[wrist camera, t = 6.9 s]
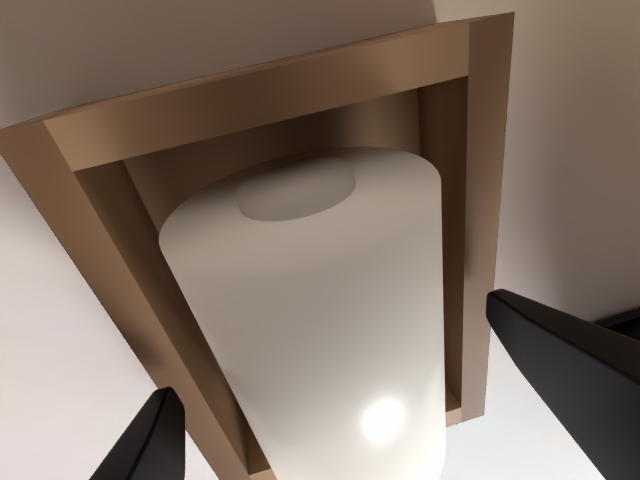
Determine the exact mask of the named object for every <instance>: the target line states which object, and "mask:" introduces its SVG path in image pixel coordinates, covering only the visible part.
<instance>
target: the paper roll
mask: <svg viewBox="0 0 640 480" xmlns="http://www.w3.org/2000/svg"><path fill="white" fill-rule="evenodd" d="M159 245H160V249H161V251H162V253H163V255H164V257H165V259H166V261H167V263H168V265H169V267H170V269H171V271H172V273H173V275H174V277H175V279H176V281H177V283H178V285H179V287H180V289H181V291H182V293H183V295H184V297H185V299H186V301H187V303H188V305H189V307H190V309H191V311H192V313H193V315H194V317H195V318H196V320H197V322H198V324H199V326H200V328H201V330H202V332H203V334H204V336H205V338H206V340H207V342H208V344H209V346H210V348H211V350H212V352H213V354H214V356H215V358H216V360H217V362H218V364H219V366H220V368H221V370H222V372H223V374H224V376H225V378H226V380H227V382H228V384H229V386H230V388H231V390H232V391H233V393H234V395H235V397H236V399H237V401H238V403H239V405H240V407H241V409H242V411H243V413H244V415H245V417H246V419H247V421H248V423H249V425H250V427H251V429H252V431H253V433H254V435H255V437H256V439H257V441H258V443H259V445H260V447H261V449H262V451H263V453H264V455H265V457H266V459H267V461H268V463H269V464H270V466H271V468H272V470H273V472H274V474H275V476H276V478H277V480H438V479H439V477H440V475H441V472H442V468H443V464H444V460H445V452H446V421H445V367H444V314H443V260H442V206H441V177H440V175H439V172H438V170H437V169H436V168H435V167H434V166H433V164H431V163H430V162H429V161H427V160H426V159H424V158H422V157H420V156H418V155H415V154H412V153H409V152H406V151H402V150H397V149H391V148H383V147H340V148H330V149H322V150H315V151H309V152H304V153H298V154H294V155H289V156H285V157H282V158H278V159H274V160H270V161H267V162H264V163H261V164H257V165H255V166H252V167H249V168H246V169H244V170H241V171H238V172H236V173H234V174H231V175H229V176H227V177H225V178H222V179H220V180H218V181H216V182H214V183H212V184H211V185H209V186H207V187H205V188H204V189H202V190H200V191H199V192H197V193H196V194H194V195H193V196H191V197H190V198H188V199H187V200H186V201H184V202H183V203H182V204H181V205H180V206H179V207H177V208H176V209H175V210H174V211H173V212H172V213H171V215H170V216H169V217H168V218H167V220H166V221H165V223H164V224H163V226H162V228H161V231H160V234H159Z"/></svg>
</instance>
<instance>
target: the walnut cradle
mask: <svg viewBox="0 0 640 480" xmlns="http://www.w3.org/2000/svg"><path fill="white" fill-rule="evenodd" d="M514 13H515V12H510V13H503V14H497V15H490V16H483V17H476V18H470V19H463V20H456V21H450V22H443V23H437V24H433V25H428V26H424V27H420V28H415V29H411V30H406V31H402V32H398V33H393V34H389V35H385V36H380V37H376V38H372V39H367V40H363V41H358V42H354V43H350V44H345V45H341V46H337V47H332V48H328V49H324V50H319V51H315V52H311V53H306V54H302V55H297V56H293V57H289V58H284V59H280V60H276V61H271V62H267V63H263V64H258V65H254V66H249V67H245V68H241V69H236V70H232V71H228V72H223V73H219V74H215V75H210V76H206V77H202V78H197V79H193V80H188V81H184V82H180V83H175V84H171V85H167V86H162V87H158V88H154V89H149V90H145V91H140V92H136V93H132V94H127V95H123V96H119V97H114V98H110V99H106V100H101V101H97V102H93V103H88V104H84V105H79V106H75V107H71V108H66V109H63V110H59V111H56V112H53V113H50V114H47V115H44V116H41V117H38V118H34V119H31V120H28V121H25V122H22V123H19V124H16V125H12V126H9V127H6V128H3V129H0V154H1V155H2V157H3V158H4V160H5V161H6V163H7V164H8V166H9V167H10V169H11V170H12V172H13V173H14V174H15V176H16V177H17V179H18V180H19V182H20V183H21V185H22V186H23V188H24V189H25V191H26V192H27V194H28V195H29V197H30V198H31V200H32V201H33V203H34V204H35V206H36V207H37V209H38V210H39V212H40V213H41V215H42V216H43V218H44V219H45V221H46V222H47V224H48V225H49V227H50V228H51V230H52V231H53V233H54V234H55V236H56V237H57V239H58V240H59V242H60V243H61V245H62V246H63V247H64V249H65V250H66V252H67V253H68V255H69V256H70V258H71V259H72V261H73V262H74V264H75V265H76V267H77V268H78V270H79V271H80V273H81V274H82V276H83V277H84V279H85V280H86V282H87V283H88V285H89V286H90V288H91V289H92V291H93V292H94V294H95V295H96V297H97V298H98V300H99V301H100V303H101V304H102V306H103V307H104V309H105V310H106V312H107V313H108V315H109V316H110V318H111V319H112V320H113V322H114V323H115V325H116V326H117V328H118V329H119V331H120V332H121V334H122V335H123V337H124V338H125V340H126V341H127V343H128V344H129V346H130V347H131V349H132V350H133V352H134V353H135V355H136V356H137V358H138V359H139V361H140V362H141V364H142V365H143V367H144V368H145V370H146V371H147V373H148V374H149V376H150V377H151V379H152V380H153V382H154V383H155V385H156V386H157V388H158V389H161V388H164V387H167V386H171V387H173V389H174V390H175V392H176V393H177V395H178V396H179V398H180V400H181V401H182V403H183V405H184V408H185V429H186V431H187V432H188V434H189V435H190V437H191V438H192V440H193V441H194V443H195V444H196V446H197V447H198V449H199V450H200V452H201V453H202V455H203V456H204V458H205V459H206V461H207V462H208V463H209V465H210V466H211V468H212V469H213V471H214V472H215V474H216V475H217V477H218V478H219V480H277V478H276V476H275V474H274V472H273V470H272V468H271V466H270V464H269V463H268V461H267V459H266V457H265V455H264V453H263V451H262V449H261V447H260V445H259V443H258V441H257V439H256V437H255V435H254V433H253V431H252V429H251V427H250V425H249V423H248V421H247V419H246V417H245V415H244V413H243V411H242V409H241V407H240V405H239V403H238V401H237V399H236V397H235V395H234V393H233V391H232V390H231V388H230V386H229V384H228V382H227V380H226V378H225V376H224V374H223V372H222V370H221V368H220V366H219V364H218V362H217V360H216V358H215V356H214V354H213V352H212V350H211V348H210V346H209V344H208V342H207V340H206V338H205V336H204V334H203V332H202V330H201V328H200V326H199V324H198V322H197V320H196V318H195V317H194V315H193V313H192V311H191V309H190V307H189V305H188V303H187V301H186V299H185V297H184V295H183V293H182V291H181V289H180V287H179V285H178V283H177V281H176V279H175V277H174V275H173V273H172V271H171V269H170V267H169V265H168V263H167V261H166V259H165V257H164V255H163V253H162V251H161V249H160V245H159V234H160V231H161V228H162V226H163V224H164V223H165V221H166V220H167V218H168V217H169V216H170V215H171V213H172V212H173V211H174V210H175V209H176V208H177V207H179V206H180V205H181V204H182V203H183V202H184V201H186V200H187V199H188V198H190V197H191V196H193V195H194V194H196V193H197V192H199V191H200V190H202V189H204V188H205V187H207V186H209V185H211V184H212V183H214V182H216V181H218V180H220V179H222V178H225V177H227V176H229V175H231V174H234V173H236V172H238V171H241V170H244V169H246V168H249V167H252V166H255V165H257V164H261V163H264V162H267V161H270V160H274V159H278V158H282V157H285V156H289V155H294V154H298V153H304V152H309V151H315V150H322V149H330V148H340V147H383V148H391V149H397V150H402V151H406V152H409V153H412V154H415V155H418V156H420V157H422V158H424V159H426V160H427V161H429V162H430V163H431V164H433V166H434V167H435V168H436V169H437V170H438V172H439V175H440V177H441V206H442V260H443V314H444V367H445V421H446V427H449V426H452V425H455V424H458V423H461V422H464V421H467V420H470V419H473V418H476V417H479V416H482V415H484V408H485V394H486V381H487V368H488V355H489V342H490V329H491V325H490V324H489V322H488V320H487V318H486V299H487V294H488V293H489V292H491V291H493V289H494V276H495V263H496V250H497V237H498V223H499V210H500V197H501V184H502V171H503V158H504V145H505V131H506V118H507V105H508V92H509V79H510V66H511V53H512V39H513V26H514Z"/></svg>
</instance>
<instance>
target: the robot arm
mask: <svg viewBox="0 0 640 480" xmlns="http://www.w3.org/2000/svg"><path fill="white" fill-rule="evenodd" d="M486 318H487V320H488V322H489V324H490V325H491V327H492V329H493V330H494V332H495V333H496V335H497V336H498V338H499V340H500V341H501V343H502V344H503V346H504V347H505V349H506V351H507V352H508V354H509V355H510V357H511V358H512V360H513V362H514V363H515V365H516V366H517V367H518V369H519V370H520V372H521V373H522V374H523V376H524V377H525V378H526V379H527V381H528V382H529V383H530V384H531V386H532V387H533V388H534V389H535V391H536V392H537V393H538V395H539V396H540V397H541V398H542V400H543V401H544V402H545V403H546V405H547V406H548V407H549V408H550V410H551V411H552V412H553V414H554V415H555V416H556V417H557V419H558V420H559V421H560V422H561V424H562V425H563V426H564V428H565V429H566V430H567V431H568V433H569V434H570V435H571V436H572V438H573V439H574V440H575V441H576V443H577V444H578V445H579V447H580V448H581V449H582V450H583V452H584V453H585V454H586V455H587V457H588V458H589V459H590V460H591V462H592V463H593V464H594V466H595V467H596V468H597V469H598V471H599V472H600V473H601V474H602V476H603V477H604V478H605V479H606V480H640V309H639V310H636V311H632V312H629V313H626V314H623V315H619V316H616V317H613V318H610V319H607V320H603V321H600V322H597V323H594V324H593V323H590V322H588V321H585V320H583V319H580V318H577V317H575V316H572V315H570V314H567V313H564V312H562V311H559V310H557V309H554V308H552V307H549V306H546V305H544V304H541V303H539V302H536V301H534V300H531V299H528V298H526V297H523V296H521V295H518V294H515V293H513V292H510V291H508V290H505V289H498V290H494V291H491V292H489V293H488V294H487V299H486ZM184 477H185V408H184V405H183V403H182V401H181V400H180V398H179V396H178V395H177V393H176V392H175V390H174V389H173V387H171V386H167V387H164V388H161V389H157V390H155V391H154V392H153V393H152V394H151V396H150V397H149V398H148V400H147V401H146V403H145V404H144V405H143V407H142V408H141V409H140V411H139V412H138V413H137V415H136V416H135V418H134V419H133V420H132V422H131V423H130V424H129V426H128V427H127V429H126V430H125V431H124V433H123V434H122V435H121V437H120V438H119V439H118V441H117V442H116V444H115V445H114V446H113V448H112V449H111V450H110V452H109V453H108V454H107V456H106V457H105V459H104V460H103V461H102V463H101V464H100V465H99V467H98V468H97V469H96V471H95V472H94V474H93V475H92V476H91V478H90V479H89V480H184Z"/></svg>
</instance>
